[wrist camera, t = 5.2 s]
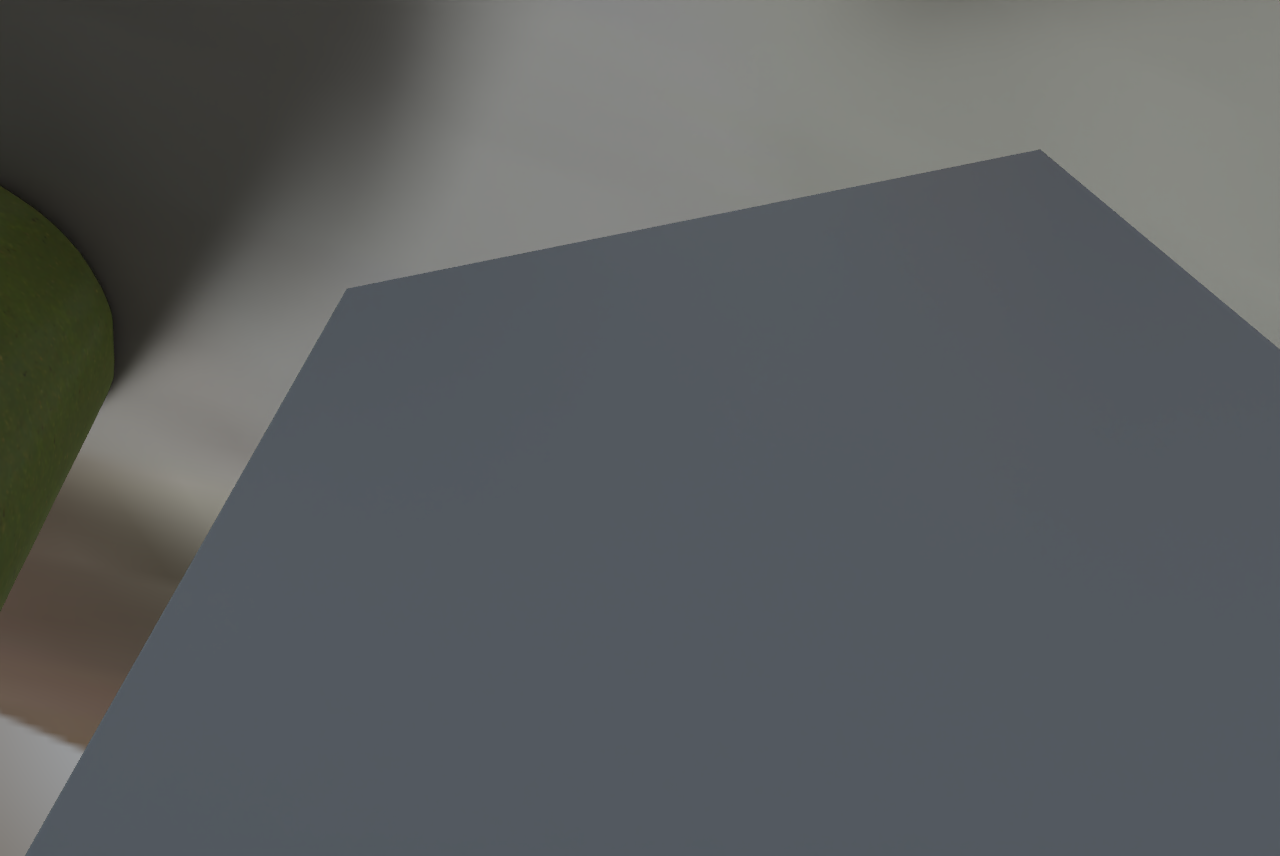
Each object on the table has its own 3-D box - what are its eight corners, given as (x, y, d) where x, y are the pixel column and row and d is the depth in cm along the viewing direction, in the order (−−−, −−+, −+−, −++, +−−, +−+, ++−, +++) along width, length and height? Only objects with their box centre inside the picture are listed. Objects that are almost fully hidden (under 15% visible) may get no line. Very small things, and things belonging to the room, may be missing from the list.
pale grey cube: (523, 749, 13) (437, 1567, 7) (346, 288, 10) (-106, 1086, 4) (1041, 669, 12) (1433, 1486, 6) (1040, 149, 9) (1854, 830, 3)
